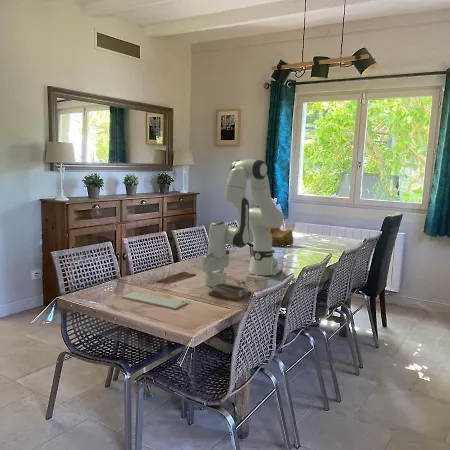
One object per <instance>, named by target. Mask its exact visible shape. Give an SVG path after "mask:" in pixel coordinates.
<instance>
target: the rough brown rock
mask: <svg viewBox="0 0 450 450" xmlns="http://www.w3.org/2000/svg"><path fill="white" fill-rule="evenodd" d="M267 232H268V233H269V234H270V235H271V237H272V245H274V246H279V245H283V246H287V245H291V246H292V245H293V244H294V237H293V230H292V229H290V228H289V229H286V230H282V229H281V228H280V227H279V228H267Z"/></svg>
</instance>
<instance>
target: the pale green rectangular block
mask: <svg viewBox="0 0 450 450" xmlns="http://www.w3.org/2000/svg"><path fill="white" fill-rule="evenodd" d="M211 276H213V278H212V280H208V275H207V273H205V286H206V287H211V288H213V286H214V285H217V284H219V283H223V284H227V272H224V271H223V272H219V270H216V271H213V272H212V274H211Z"/></svg>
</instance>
